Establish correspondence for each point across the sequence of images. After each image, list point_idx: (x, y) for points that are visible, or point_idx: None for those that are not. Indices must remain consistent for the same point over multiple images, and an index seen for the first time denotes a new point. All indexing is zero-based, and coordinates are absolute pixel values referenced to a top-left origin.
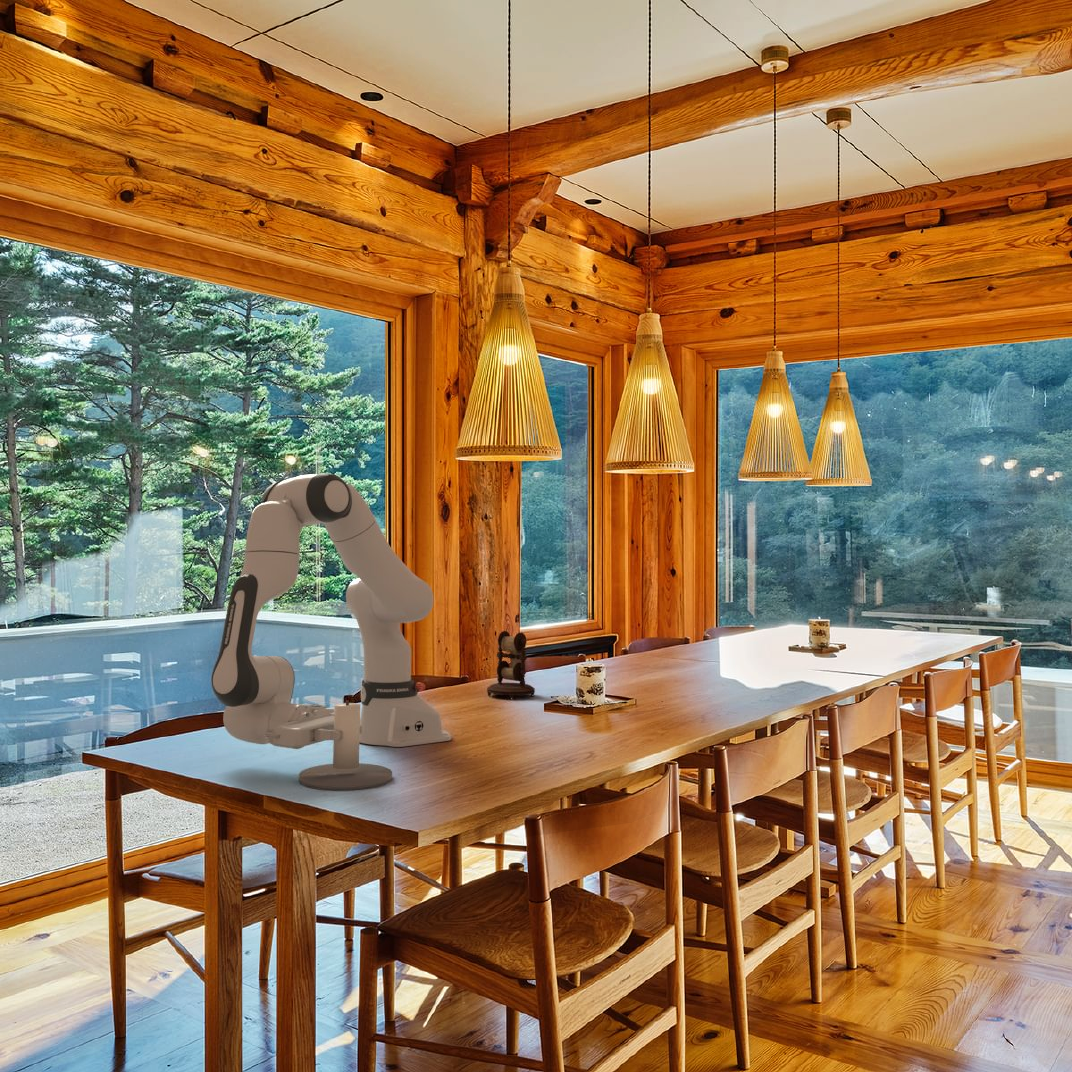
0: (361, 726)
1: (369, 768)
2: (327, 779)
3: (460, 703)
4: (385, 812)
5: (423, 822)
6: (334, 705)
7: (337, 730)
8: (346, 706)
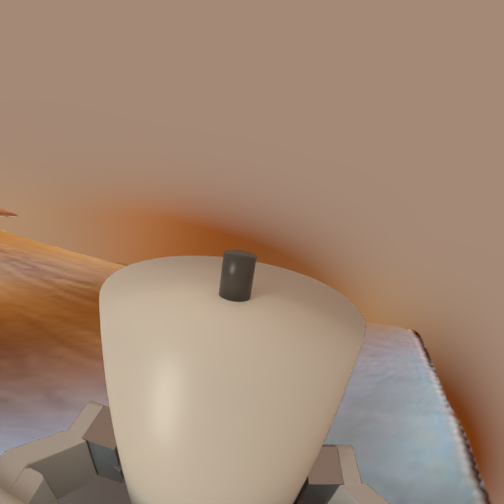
0: (95, 402)
1: (99, 494)
2: None
3: None
4: (394, 371)
5: (385, 333)
6: (339, 360)
7: (325, 460)
8: (304, 291)
